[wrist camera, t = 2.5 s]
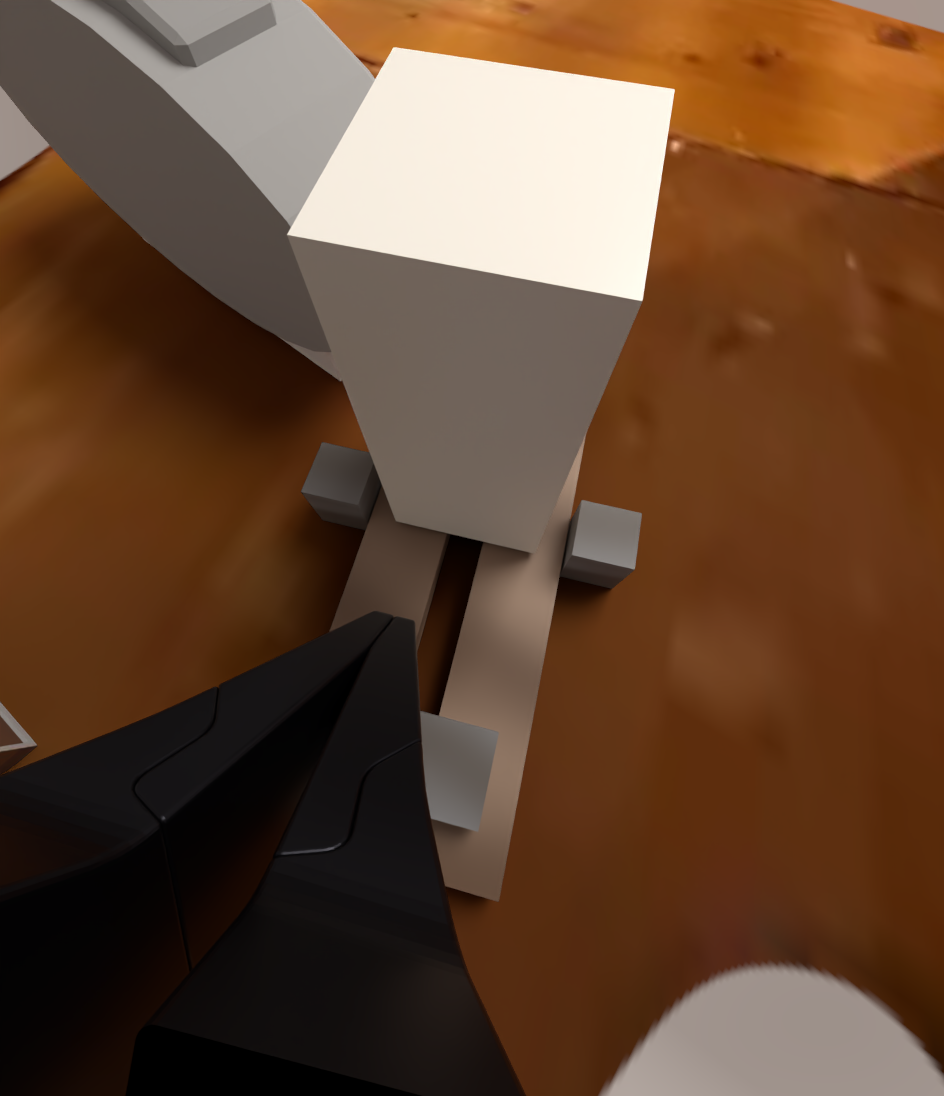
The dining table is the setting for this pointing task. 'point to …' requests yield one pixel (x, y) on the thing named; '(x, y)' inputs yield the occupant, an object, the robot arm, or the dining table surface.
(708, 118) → the dining table surface
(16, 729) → the food container
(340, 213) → the block
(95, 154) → the alarm clock
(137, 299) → the dining table surface
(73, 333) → the dining table surface
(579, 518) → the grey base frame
